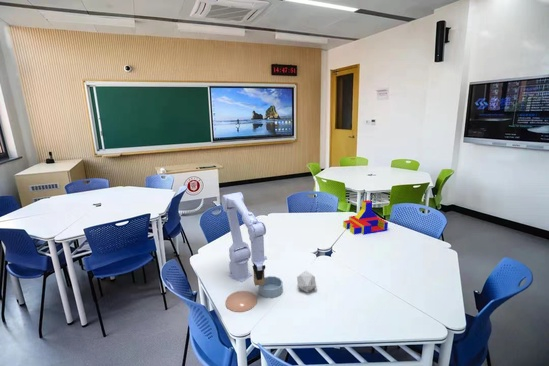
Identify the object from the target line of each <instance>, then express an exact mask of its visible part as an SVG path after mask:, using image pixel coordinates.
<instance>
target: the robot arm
mask: <svg viewBox="0 0 549 366" xmlns="http://www.w3.org/2000/svg"><path fill="white" fill-rule="evenodd" d="M244 199H245V198H244V194H243V193H242V192H241V191H238V192H233V193H228V194H223V195H221V199H220V201H221V206H222V209H223V212H225V213H226V216H227V219H228V220H227V221H228V224H229V225H228V226H229V229H230V233H231V235H230V236H231V238H232V244H231V245H230V247H229V248H228V252H229V253H228V256H229V260H230V261H229V264H228V266H229V268H228V269H229V275H228V277H229V278H231V279H234V280H236V281H238V282H240V283H243V282H245V281H246V280H247V279H249V278H250V277H251V276H253V274H252V273H250V272H249V262H248V261H251V263H252V264H253V265H252V269H253V270H254V271H255V274H256V278H257V280H262V276H263V272H264V273H265V269H266V265H265V264H264V262H265V261H266V260H268V257H267V255H266V256H265V240H264V239H265V238H264V237H265V235H266V233H267V227H266V225H265V224H264V222H263V221H260V220H259V219H258V218H257V217H256V216H255V215H254V213H253V212H252V211H249V210H248V207H247V206H246V204H245V200H244ZM238 213H239V214H240V216H242V217H241V221H242V222H243V224H244V226H245V227H246V228H247V234H248V236H249V241H250V247H249V244H248V243H247V242H244V241H243V236H242V231H241V227H240V222H239V217H238ZM250 259H251V260H250ZM253 270H252V271H253Z"/></svg>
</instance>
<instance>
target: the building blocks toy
mask: <svg viewBox="0 0 549 366" xmlns="http://www.w3.org/2000/svg"><path fill="white" fill-rule="evenodd" d="M342 224H343V225H342V227H343V228H344V229H345V230H349V233H351V234H352V235H359V234H362V235H363V236H364V235H371V234H377V233H382V232H387V231H388V227H389V226H388V225H389V223H388V221H386V220H385V219H383V218H380V217H379V216H378V215H377V214H376V213H375V212H374V211H373V202H372V201H370V200H362V201H361V208H360V210H359V211H358V213H357V214H356V215H351V216H349V217H348V220H347V219H346V220H343V223H342Z"/></svg>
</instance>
